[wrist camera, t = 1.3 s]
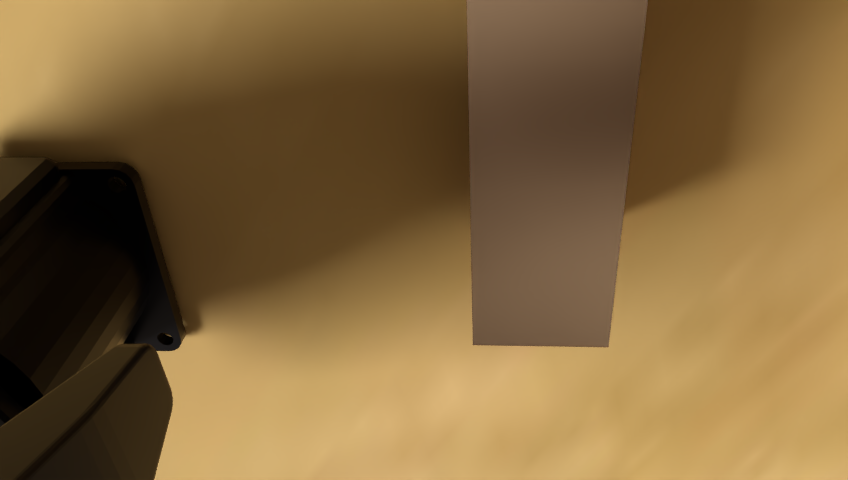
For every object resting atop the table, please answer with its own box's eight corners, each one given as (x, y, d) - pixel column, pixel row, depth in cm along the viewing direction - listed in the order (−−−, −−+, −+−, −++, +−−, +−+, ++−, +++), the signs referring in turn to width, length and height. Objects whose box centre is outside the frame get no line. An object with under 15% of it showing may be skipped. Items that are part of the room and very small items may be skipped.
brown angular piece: (793, 225, 20) (868, 351, 16) (285, 225, 22) (236, 341, 17) (925, -280, 14) (1105, -286, 10) (202, -238, 15) (94, -229, 11)
